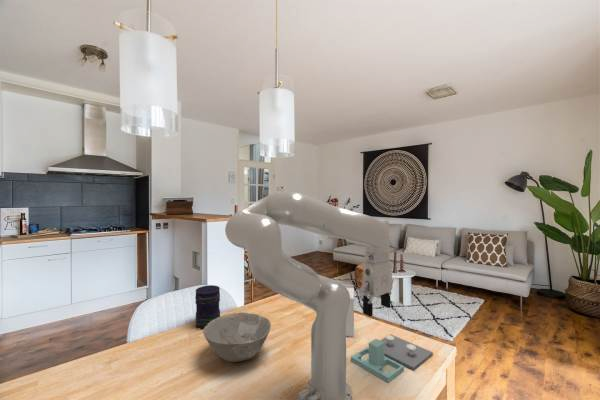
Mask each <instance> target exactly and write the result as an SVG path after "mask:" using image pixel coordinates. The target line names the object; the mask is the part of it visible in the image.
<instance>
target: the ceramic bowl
mask: <svg viewBox="0 0 600 400" xmlns="http://www.w3.org/2000/svg"><path fill="white" fill-rule="evenodd" d="M271 327H272V326H271V322H270V320H269V319H268V318H267V317H265V316H263V315H260V314H257V313H250V312H249V313H248V312H237V313H236V312H234V313H229V314H223V315H220V317H218V318H216V319H214V320H212V321H211V322H209V323H208V324H207V326H205V328H204V330H202V333H203V336H204V338H205V340H206V341H207V343H208V345H209V346H210V347H211V349H212V351H214V352H215V354H217V355H218V357H220V358H221V359H223V360H224V361H225V362H229V363H237V362H243V361H248V360H250V359H252V358H254V357H255V356H256V355H257V354H258V353H259V352H260V350H261V349H262V347H263V345H264V344H265V341H266V340H267V338H268V335H269V333H270V332H271Z"/></svg>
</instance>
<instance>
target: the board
mask: <svg viewBox="0 0 600 400" xmlns="http://www.w3.org/2000/svg"><path fill="white" fill-rule="evenodd" d="M379 340H380V341H382V342H384V343H385V357H387V358H389V359H391V360H393V361H395V362H397V363H399V364H401V365H403V366H404V368H405V367H406V368H407V369H410V370H411V371H413V372H414V371H416V370H417V368H419V367H420V366H421V365H423V364H424V363H425V362H426V361H427V360H428V359H430V358H431V357H432V356H433V355H434V354H433V353H434V352H433V351H431V350H429V349H426V348H423V347H421V346H419V345H417V344H415V343H413V342H410V341H407V340H405V339H403V338H400V337H399V336H396V335H393V334H386V335H385V337H383V338H382V339H379Z"/></svg>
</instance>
